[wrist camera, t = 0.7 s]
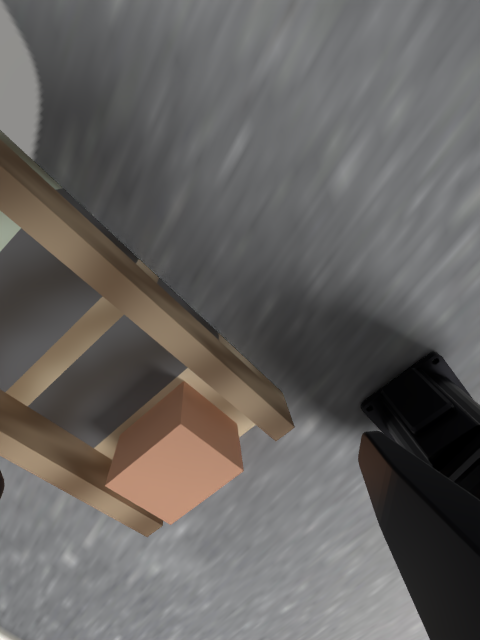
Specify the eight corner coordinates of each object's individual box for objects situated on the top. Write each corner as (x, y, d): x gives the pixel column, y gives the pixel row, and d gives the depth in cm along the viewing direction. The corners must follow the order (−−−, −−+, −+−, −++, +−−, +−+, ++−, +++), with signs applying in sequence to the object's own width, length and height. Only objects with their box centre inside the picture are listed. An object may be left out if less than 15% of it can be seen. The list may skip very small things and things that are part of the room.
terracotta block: (237, 423, 24) (243, 470, 20) (175, 472, 25) (170, 524, 21) (184, 380, 22) (180, 423, 18) (119, 435, 23) (104, 485, 19)
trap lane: (282, 392, 24) (296, 433, 21) (153, 492, 27) (146, 544, 23) (-124, 14, 14) (-235, -36, 11) (-265, 233, 17) (-392, 252, 13)
